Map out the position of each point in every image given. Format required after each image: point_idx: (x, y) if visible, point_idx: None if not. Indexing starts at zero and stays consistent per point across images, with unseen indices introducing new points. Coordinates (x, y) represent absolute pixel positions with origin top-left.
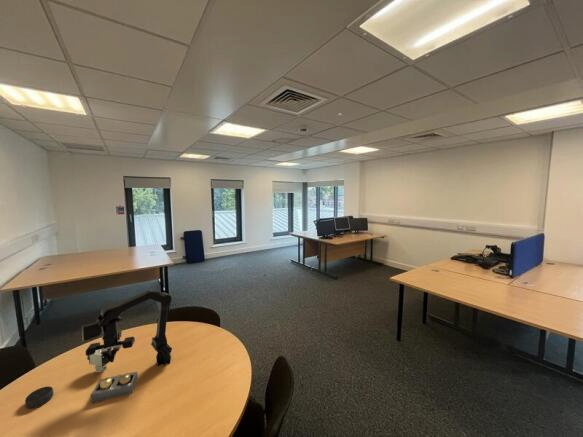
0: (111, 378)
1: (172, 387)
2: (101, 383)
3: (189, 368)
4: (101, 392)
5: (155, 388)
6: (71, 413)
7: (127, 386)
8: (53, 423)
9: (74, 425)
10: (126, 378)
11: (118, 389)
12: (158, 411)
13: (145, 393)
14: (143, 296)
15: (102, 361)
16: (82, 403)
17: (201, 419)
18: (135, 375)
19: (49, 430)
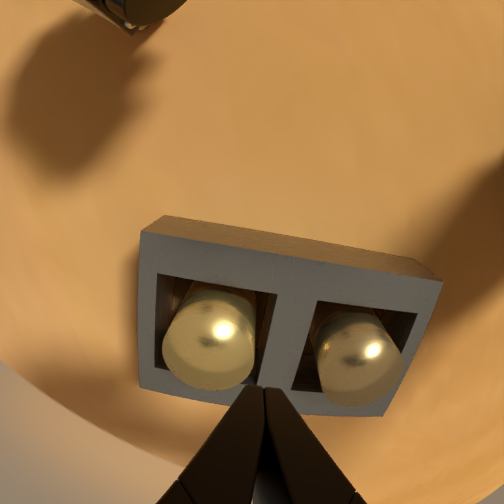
0: (252, 350)
1: (495, 396)
2: (179, 374)
3: None
4: (201, 400)
5: (457, 384)
6: (89, 366)
7: (359, 415)
8: (52, 377)
9: (138, 433)
10: (369, 401)
11: (305, 408)
12: (415, 474)
13: (416, 400)
14: None
15: (105, 14)
16: (107, 325)
17: (466, 491)
18: (423, 331)
19: (61, 402)
